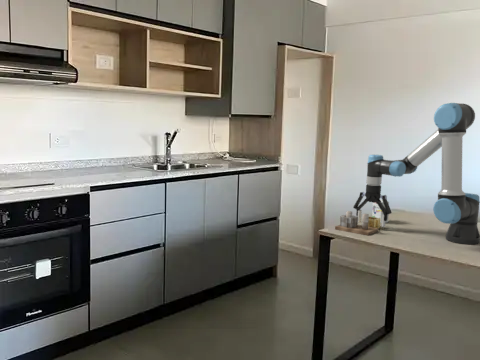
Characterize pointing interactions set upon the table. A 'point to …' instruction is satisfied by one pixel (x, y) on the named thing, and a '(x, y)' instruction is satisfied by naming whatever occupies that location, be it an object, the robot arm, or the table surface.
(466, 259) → the table surface
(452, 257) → the table surface
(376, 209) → the ink box
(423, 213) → the table surface
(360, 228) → the gear board
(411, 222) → the table surface
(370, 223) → the brass gear
